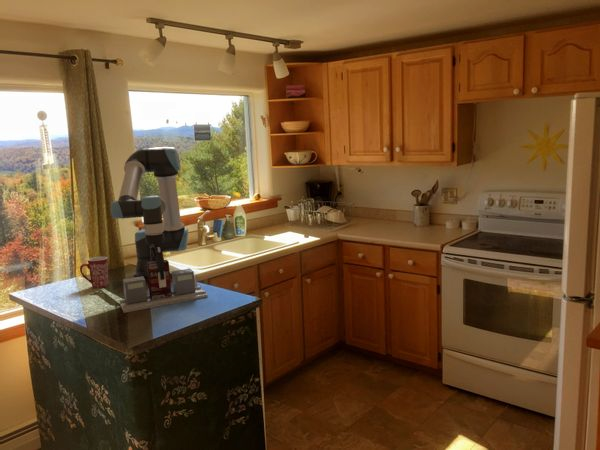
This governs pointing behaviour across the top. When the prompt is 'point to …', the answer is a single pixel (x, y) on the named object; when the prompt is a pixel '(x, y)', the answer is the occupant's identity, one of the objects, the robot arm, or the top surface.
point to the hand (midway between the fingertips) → (159, 283)
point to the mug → (97, 271)
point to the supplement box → (154, 282)
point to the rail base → (181, 292)
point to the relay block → (195, 281)
